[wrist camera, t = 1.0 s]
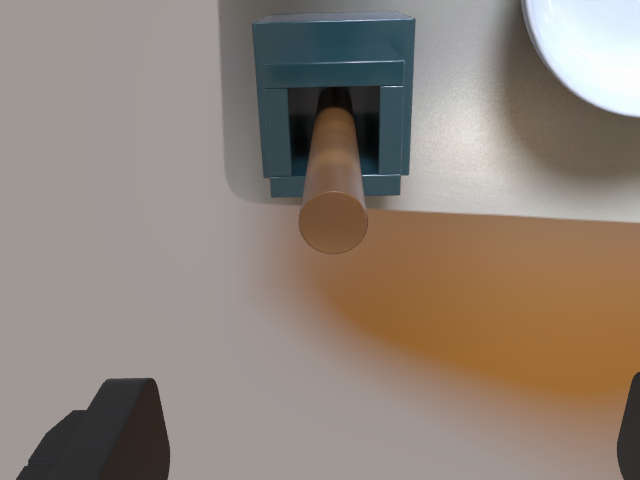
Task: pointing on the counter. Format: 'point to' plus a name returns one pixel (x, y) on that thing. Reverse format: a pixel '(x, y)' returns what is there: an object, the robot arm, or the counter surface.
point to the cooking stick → (333, 179)
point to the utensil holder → (335, 71)
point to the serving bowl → (590, 49)
